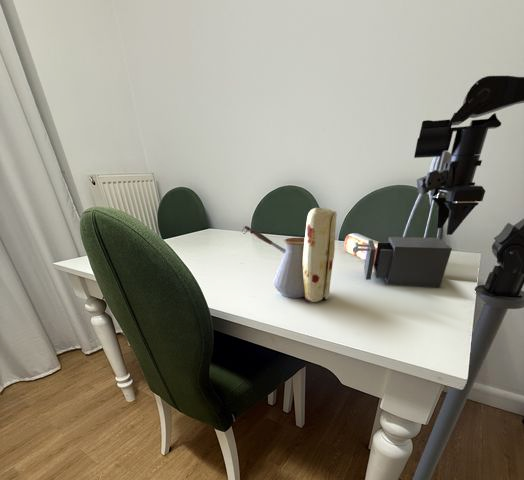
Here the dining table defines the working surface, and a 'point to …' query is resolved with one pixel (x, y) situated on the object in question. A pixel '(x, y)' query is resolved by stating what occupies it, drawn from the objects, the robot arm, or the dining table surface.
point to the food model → (318, 253)
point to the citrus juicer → (436, 165)
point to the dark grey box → (418, 261)
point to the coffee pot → (288, 266)
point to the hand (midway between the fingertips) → (444, 231)
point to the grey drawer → (376, 258)
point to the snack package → (360, 240)
